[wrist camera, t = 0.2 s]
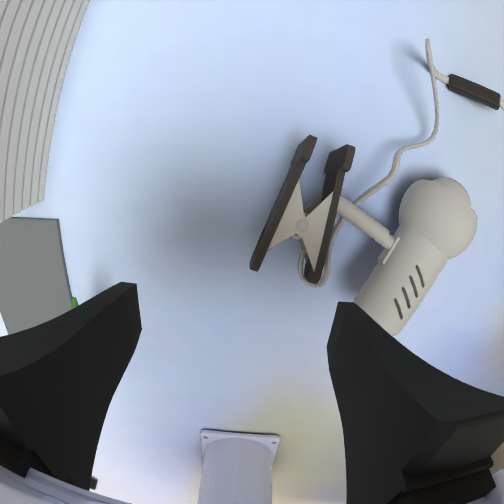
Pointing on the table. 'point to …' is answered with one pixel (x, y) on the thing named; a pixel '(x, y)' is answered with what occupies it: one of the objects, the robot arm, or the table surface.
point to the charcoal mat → (32, 273)
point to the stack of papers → (31, 92)
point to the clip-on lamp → (396, 246)
